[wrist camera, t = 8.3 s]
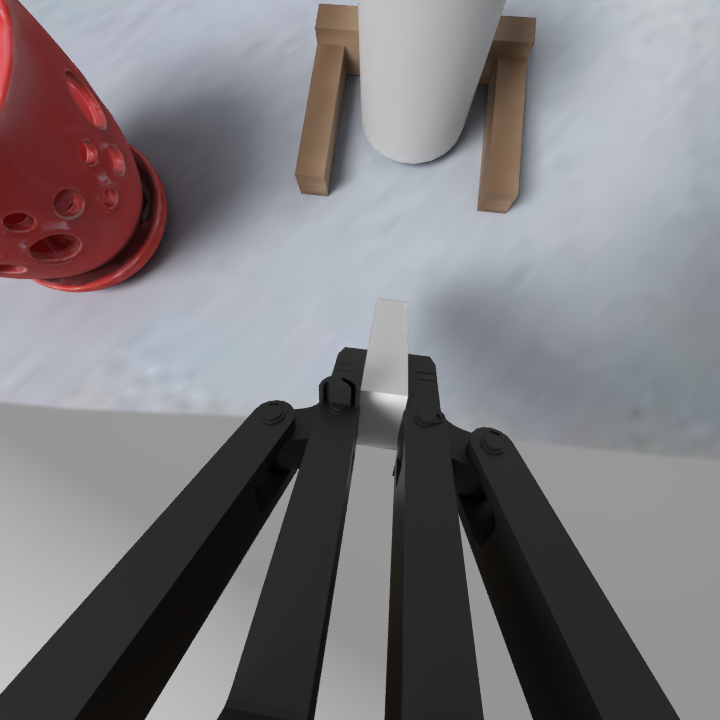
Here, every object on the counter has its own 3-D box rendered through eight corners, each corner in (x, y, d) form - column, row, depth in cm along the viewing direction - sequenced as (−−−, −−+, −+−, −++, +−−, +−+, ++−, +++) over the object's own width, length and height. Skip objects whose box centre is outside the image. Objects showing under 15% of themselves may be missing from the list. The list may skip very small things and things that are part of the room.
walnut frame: (515, 64, 24) (536, 18, 22) (505, 213, 23) (525, 184, 20) (325, 50, 25) (319, 3, 22) (301, 193, 24) (291, 163, 21)
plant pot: (-12, 218, 24) (-379, 40, 12) (130, 121, 25) (-86, -134, 13) (72, 350, 23) (-259, 291, 11) (222, 242, 23) (69, 74, 11)
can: (397, 69, 25) (422, -238, 13) (479, 115, 24) (586, -167, 12) (342, 141, 24) (315, -115, 12) (425, 190, 23) (482, -32, 11)
